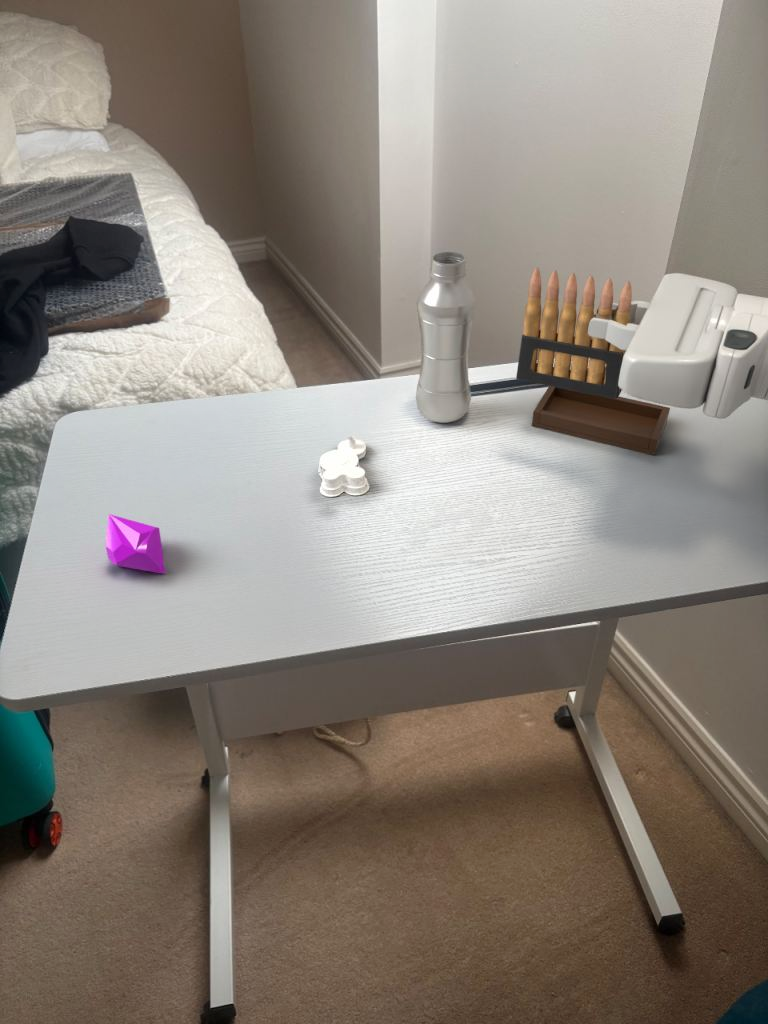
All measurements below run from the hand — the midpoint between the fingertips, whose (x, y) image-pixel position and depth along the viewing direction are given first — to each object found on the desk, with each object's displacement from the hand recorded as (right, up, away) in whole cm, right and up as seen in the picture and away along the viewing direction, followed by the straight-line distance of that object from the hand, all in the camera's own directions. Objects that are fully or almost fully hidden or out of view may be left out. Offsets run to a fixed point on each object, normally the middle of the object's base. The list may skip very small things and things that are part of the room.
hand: (594, 318), depth 81 cm
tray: (+6, -8, +20) cm, 22 cm away
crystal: (-44, -24, +1) cm, 51 cm away
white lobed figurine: (-25, -15, +12) cm, 31 cm away
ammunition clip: (-1, -6, +6) cm, 8 cm away
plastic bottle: (-13, -7, +22) cm, 26 cm away
